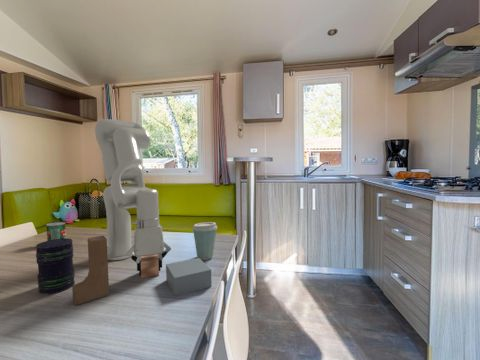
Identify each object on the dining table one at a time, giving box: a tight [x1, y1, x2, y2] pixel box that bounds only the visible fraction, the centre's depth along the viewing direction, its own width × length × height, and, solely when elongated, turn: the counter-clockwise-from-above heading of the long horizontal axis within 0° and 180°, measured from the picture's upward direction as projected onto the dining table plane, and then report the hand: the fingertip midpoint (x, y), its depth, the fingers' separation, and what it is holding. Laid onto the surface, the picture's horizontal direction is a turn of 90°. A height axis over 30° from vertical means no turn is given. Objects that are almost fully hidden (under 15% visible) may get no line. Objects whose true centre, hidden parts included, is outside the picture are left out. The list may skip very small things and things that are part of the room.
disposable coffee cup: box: [192, 221, 218, 261], centre depth 107 cm, size 11×11×15 cm
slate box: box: [165, 257, 213, 297], centre depth 84 cm, size 12×12×6 cm
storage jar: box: [35, 238, 76, 295], centre depth 82 cm, size 10×10×15 cm
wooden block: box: [71, 235, 110, 306], centre depth 75 cm, size 9×4×18 cm, turn 130°
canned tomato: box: [45, 221, 67, 241], centre depth 127 cm, size 8×8×11 cm
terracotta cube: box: [140, 254, 160, 279], centre depth 92 cm, size 6×6×6 cm
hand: (149, 270), depth 92 cm, fingers closed on terracotta cube, 6 cm apart
